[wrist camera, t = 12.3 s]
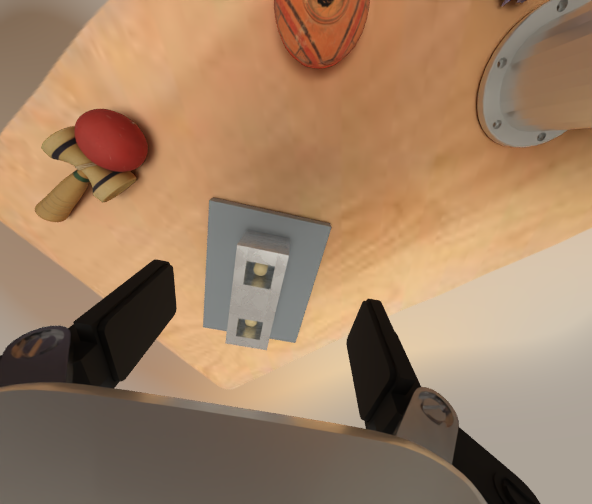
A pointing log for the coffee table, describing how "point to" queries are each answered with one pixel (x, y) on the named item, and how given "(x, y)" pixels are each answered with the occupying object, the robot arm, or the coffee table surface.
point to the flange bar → (256, 288)
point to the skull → (509, 0)
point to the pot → (320, 28)
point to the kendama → (93, 160)
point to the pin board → (295, 270)
